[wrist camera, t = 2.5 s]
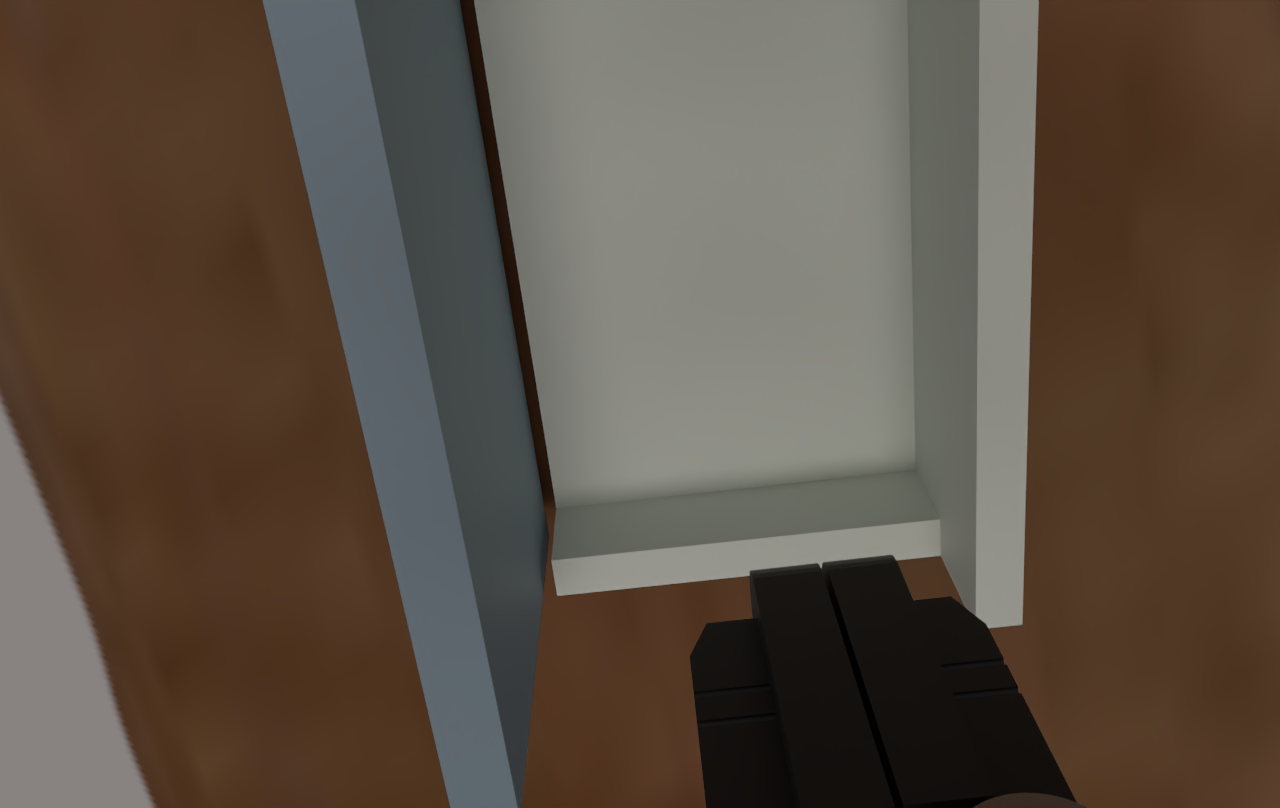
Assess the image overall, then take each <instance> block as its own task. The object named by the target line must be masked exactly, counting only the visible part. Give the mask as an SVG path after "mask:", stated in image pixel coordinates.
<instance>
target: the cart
mask: <svg viewBox="0 0 1280 808" xmlns="http://www.w3.org/2000/svg"><path fill="white" fill-rule="evenodd" d="M474 4H475V10H476V16H477V23H478V29H479V35H480V41H481V47H482V53H483V60H484V66H485V72H486V78H487V84H488V90H489V97H490V103H491V109H492V115H493V121H494V127H495V134H496V140H497V146H498V152H499V158H500V164H501V171H502V177H503V183H504V189H505V195H506V201H507V208H508V214H509V220H510V226H511V232H512V238H513V245H514V251H515V257H516V263H517V269H518V275H519V282H520V288H521V294H522V300H523V306H524V312H525V319H526V325H527V331H528V337H529V343H530V349H531V356H532V362H533V368H534V374H535V380H536V386H537V393H538V399H539V405H540V411H541V417H542V423H543V430H544V436H545V442H546V448H547V454H548V460H549V467H550V473H551V479H552V485H553V491H554V497H555V504H556V517H555V528H554V538H553V548H552V559H551V562H552V567H553V573H554V579H555V585H556V591H557V596H561V595H571V594H580V593H590V592H599V591H609V590H618V589H628V588H638V587H647V586H657V585H666V584H676V583H685V582H695V581H704V580H714V579H723V578H733V577H742V576H750V570H759V569H768V568H777V567H787V566H796V565H805V564H814V563H818V564H819V565H820V568H822V564H823V562H829V561H838V560H847V559H856V558H866V557H875V556H884V555H893V556H894V558H895V559H896V560H904V559H913V558H923V557H932V556H941V558H942V560H943V562H944V564H945V566H946V568H947V570H948V572H949V574H950V577H951V579H952V581H953V583H954V585H955V587H956V589H957V591H958V593H959V596H960V598H961V600H962V602H963V604H964V606H965V608H966V609H967V610H969V611H970V612H971V613H973V614H974V615H975V616H976V617H978V618H979V619H980V620H982V621H983V622H984V623H986V625H987V627H988V628H995V627H1004V626H1014V625H1022V618H1023V580H1024V542H1025V503H1026V465H1027V427H1028V389H1029V351H1030V312H1031V274H1032V236H1033V198H1034V160H1035V121H1036V83H1037V45H1038V7H1039V0H474Z"/></svg>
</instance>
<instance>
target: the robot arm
mask: <svg viewBox="0 0 1280 808" xmlns="http://www.w3.org/2000/svg"><path fill="white" fill-rule="evenodd" d="M750 590H751V602H752V613H753V619H744V620H735V621H725V622H716V623H707V624H706V626H705V628H704V630H703V632H702V634H701V636H700V638H699V640H698V642H697V643H696V645H695V647H694V649H693V651H692V653H691V655H690V662H691V671H692V680H693V689H694V698H695V707H696V716H697V725H698V735H699V744H700V753H701V762H702V771H703V780H704V789H705V799H706V808H1087V807H1086V806H1084V805H1081V804H1079V803H1077V802H1076V800H1075V798H1074V796H1073V794H1072V792H1071V790H1070V788H1069V786H1068V784H1067V782H1066V781H1065V779H1064V777H1063V775H1062V773H1061V771H1060V769H1059V767H1058V765H1057V763H1056V761H1055V759H1054V757H1053V755H1052V753H1051V751H1050V749H1049V747H1048V745H1047V743H1046V741H1045V739H1044V737H1043V735H1042V733H1041V731H1040V729H1039V727H1038V725H1037V723H1036V721H1035V719H1034V718H1033V716H1032V714H1031V712H1030V710H1029V708H1028V706H1027V704H1026V702H1025V700H1024V698H1023V696H1022V694H1019V692H1018V686H1017V684H1016V682H1015V680H1014V678H1013V676H1012V674H1011V672H1010V670H1009V668H1008V666H1007V665H1004V661H1003V656H1002V655H1001V653H1000V651H999V649H998V647H997V645H996V643H995V641H994V639H993V637H992V635H991V633H990V631H989V629H988V627H987V625H986V623H984V622H983V621H982V620H980V619H979V618H978V617H976V616H975V615H974V614H973V613H971V612H970V611H969V610H967V609H966V608H965V607H964V606H962V605H961V604H960V603H958V602H957V601H956V600H955V599H953V598H952V597H941V598H932V599H923V600H914V601H913V599H912V597H911V594H910V592H909V589H908V587H907V585H906V582H905V580H904V578H903V575H902V573H901V571H900V568H899V566H898V564H897V561H896V559H895V558H894V556H893V555H884V556H875V557H866V558H856V559H847V560H838V561H829V562H823V564H822V570H821V568H820V565H819V564H818V563H814V564H805V565H796V566H787V567H777V568H768V569H759V570H750Z"/></svg>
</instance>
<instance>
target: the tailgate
mask: <svg viewBox="0 0 1280 808" xmlns="http://www.w3.org/2000/svg"><path fill="white" fill-rule="evenodd" d="M263 4H264V8H265V12H266V17H267V21H268V25H269V30H270V34H271V38H272V43H273V47H274V51H275V55H276V60H277V64H278V68H279V73H280V77H281V81H282V86H283V90H284V94H285V98H286V103H287V107H288V111H289V116H290V120H291V124H292V128H293V133H294V137H295V141H296V146H297V150H298V154H299V159H300V163H301V167H302V171H303V176H304V180H305V184H306V189H307V193H308V197H309V202H310V206H311V210H312V214H313V219H314V223H315V227H316V232H317V236H318V240H319V245H320V249H321V253H322V257H323V262H324V266H325V270H326V275H327V279H328V283H329V288H330V292H331V296H332V300H333V305H334V309H335V313H336V318H337V322H338V326H339V331H340V335H341V339H342V343H343V348H344V352H345V356H346V361H347V365H348V369H349V374H350V378H351V382H352V386H353V391H354V395H355V399H356V404H357V408H358V412H359V417H360V421H361V425H362V429H363V434H364V438H365V442H366V447H367V451H368V455H369V460H370V464H371V468H372V472H373V477H374V481H375V485H376V490H377V494H378V498H379V503H380V507H381V511H382V515H383V520H384V524H385V528H386V533H387V537H388V541H389V546H390V550H391V554H392V558H393V563H394V567H395V571H396V576H397V580H398V584H399V589H400V593H401V597H402V601H403V606H404V610H405V614H406V619H407V623H408V627H409V631H410V636H411V640H412V644H413V649H414V653H415V657H416V662H417V666H418V670H419V674H420V679H421V683H422V687H423V692H424V696H425V700H426V705H427V709H428V713H429V717H430V722H431V726H432V730H433V735H434V739H435V743H436V748H437V752H438V756H439V760H440V765H441V769H442V773H443V778H444V782H445V786H446V791H447V795H448V799H449V803H450V808H521V806H522V797H523V787H524V777H525V767H526V758H527V748H528V738H529V728H530V719H531V709H532V699H533V689H534V680H535V670H536V660H537V651H538V641H539V631H540V621H541V612H542V602H543V592H544V582H545V573H546V563H547V553H548V543H549V533H548V527H547V521H546V515H545V509H544V503H543V497H542V491H541V485H540V479H539V473H538V467H537V461H536V455H535V449H534V443H533V437H532V431H531V425H530V419H529V413H528V407H527V401H526V395H525V389H524V383H523V377H522V371H521V365H520V359H519V353H518V347H517V341H516V335H515V329H514V323H513V317H512V311H511V305H510V299H509V293H508V287H507V281H506V275H505V269H504V263H503V257H502V251H501V245H500V239H499V233H498V227H497V221H496V215H495V209H494V203H493V197H492V191H491V185H490V179H489V173H488V167H487V161H486V155H485V149H484V143H483V137H482V131H481V125H480V119H479V113H478V107H477V101H476V95H475V89H474V83H473V77H472V71H471V65H470V59H469V53H468V47H467V41H466V35H465V29H464V23H463V17H462V11H461V5H460V0H263Z"/></svg>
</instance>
